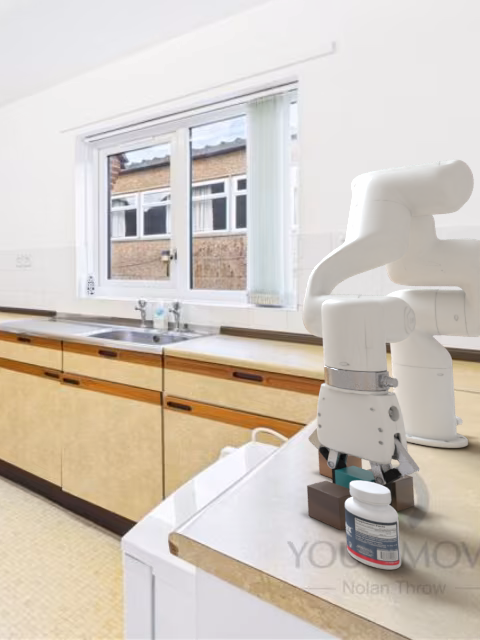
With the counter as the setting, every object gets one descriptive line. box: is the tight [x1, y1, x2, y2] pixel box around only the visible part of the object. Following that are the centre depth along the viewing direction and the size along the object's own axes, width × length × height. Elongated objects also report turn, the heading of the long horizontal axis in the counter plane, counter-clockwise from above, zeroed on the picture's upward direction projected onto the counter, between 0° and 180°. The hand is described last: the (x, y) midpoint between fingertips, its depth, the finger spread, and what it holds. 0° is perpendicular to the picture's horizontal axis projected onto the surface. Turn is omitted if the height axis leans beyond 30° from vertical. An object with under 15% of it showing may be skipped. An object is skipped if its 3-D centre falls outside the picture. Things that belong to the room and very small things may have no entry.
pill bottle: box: [345, 480, 402, 571], centre depth 60 cm, size 5×5×9 cm
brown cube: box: [306, 480, 352, 531], centre depth 70 cm, size 4×4×4 cm
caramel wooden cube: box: [317, 449, 363, 479], centre depth 84 cm, size 4×4×4 cm
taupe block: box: [367, 468, 415, 512], centre depth 75 cm, size 4×4×4 cm
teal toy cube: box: [335, 466, 375, 489], centre depth 72 cm, size 4×4×4 cm
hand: (361, 500), depth 72 cm, fingers closed on teal toy cube, 4 cm apart
